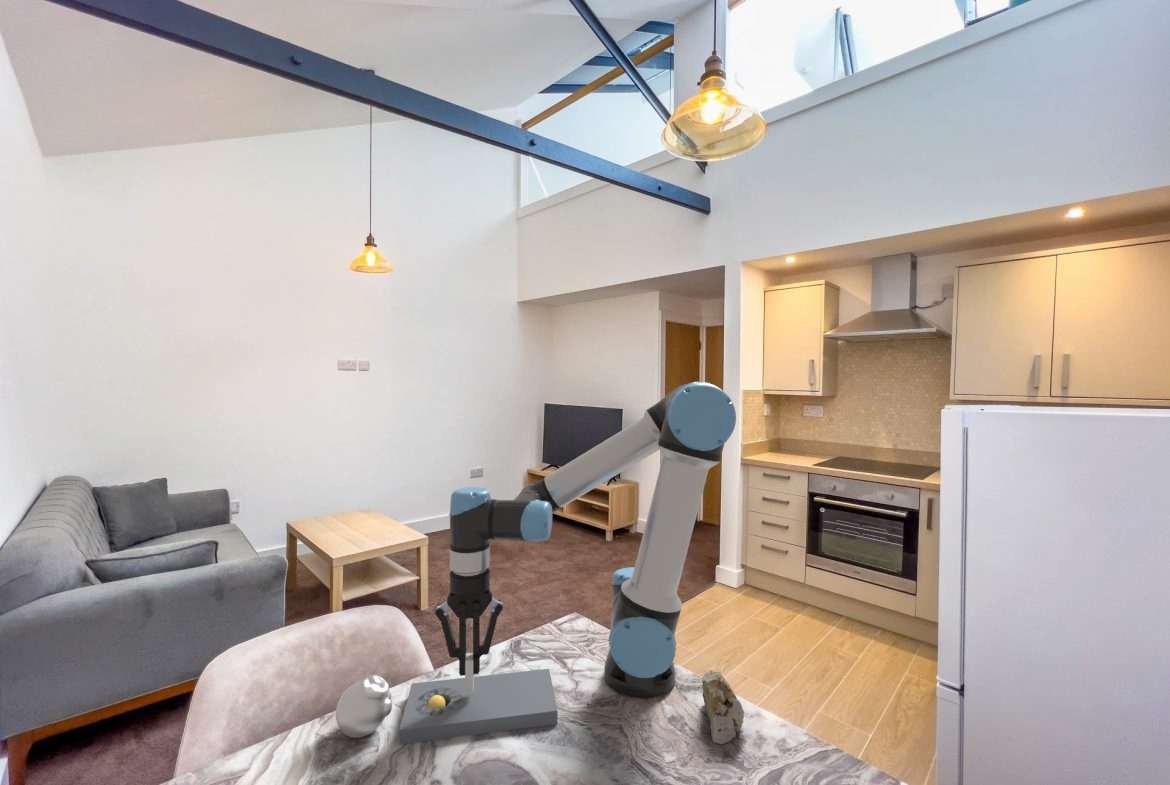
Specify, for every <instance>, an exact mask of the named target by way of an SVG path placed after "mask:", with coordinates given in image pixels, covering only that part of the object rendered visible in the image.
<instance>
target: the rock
mask: <svg viewBox="0 0 1170 785" xmlns="http://www.w3.org/2000/svg"><path fill="white" fill-rule="evenodd" d="M702 698H703V703H704V705H705V707H704V708H705V711H706V715H707V716H708V718H709V720H710V724H709V725H710V726H709V729H710V731H711V732H710V733H711V739H712V742H713V743H716V744H719V745H723V744H726V743H729V742H731V741H733V738H736V735H737V734H736V733H738V732H739V730H740V729H741V728H742V727H743V723H745V722H744V717H745V712H744V709H743V705H742V704H741V701H740V700H739V699H738V697H737V696H736V694H735V692H734V690H733V689H732V687H731V686H730V684H729V682H728V681H727V680H726V679H725V677H724V676H723V675H722V672H721V671H716V670H715V671H714V670H711V669H710V670H709V671H708V672H705V673H703V676H702Z"/></svg>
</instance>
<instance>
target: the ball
mask: <svg viewBox="0 0 1170 785" xmlns="http://www.w3.org/2000/svg"><path fill="white" fill-rule="evenodd" d="M427 706H428V707H429V708H431V709H440V708H443V707H445V700H444V698H443V697H442V696H440V695H435V696H433V697H431V698H430V699H429V701H428V703H427Z"/></svg>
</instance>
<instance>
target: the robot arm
mask: <svg viewBox="0 0 1170 785" xmlns="http://www.w3.org/2000/svg"><path fill="white" fill-rule="evenodd" d="M736 422H737V412H736V407H735V405H734V402H733V401H732V399H731V398H730V396H729V395H728V394H727V393H726V392H725V391H724V390H723V389H721V388H720V387H718V386H717V385H715V384H711V383H709V382H702V381H693V382H688V383H683V384H681V385H678V386H677V387H675V388H674V389H672V390H671V391H670V392H669V393H668V394H666V396H664V397H663V398H662V399H660V400H659V401H658V402H657V403H655V404H653V405H652V406H651V407H649V408H647V409H646V410H644V413H643V416H642V418H640V419H639V420H636V421H635V422H633V423H632V424H630V425H628V426H627V427H625V428H624V429H622V430H620V431H619V432H617V433H615V434H614V435H612V436H611V437H609V438H607V439H605V440H604V441H603V442H601V443H599V444H598V445H597V444H596V445H595V446H593V447H592V448H591V449H589V450H587V451H585V453H582V454H581V455H579V456H578V457H576V458H574V459H572V460H571V461H569V462H567V463H566V464H565V465H562V466H560V467H559V468H557V469H556V470H554V471H553V472H551V473H549V474H548V475H546V476H545V477H543V478H541V479H540V480H537V482H534V483H532V484H529V485H527V486H526V487H525V488H523V489H522V490H521V491H520V493H519V494H518V495H516V497H515V498H514V499H495V498H493V499H492V497H491V492H490V490H489V489H488V488H486V487H480V486H468V487H461V488H458V489H456V490H454V491H453V492H452V493H451V495H450V507H449V514H448V516H449V541H450V542H449V543H450V544H449V570H451V571H450V572H449V593H448V596H447V599H446V601H444V602H442V603H439V604H437V605H436V609H435V612H434V613H435V616H436V617H437V618H438V620H439V621H440V623H441V624H440V625H441V627H442V631H443V632H442V633H443V634H444V640H445V643H446V644H445V645H446V647H447V651H448V654H449V655H448V656H449V658H452V659H454V658H456V659H458V661H459V666H458V670H459V671H458V673H459V676H465V677H464V678H465V695H467V694H473V689H474V677H475V676H474V675H479V673H480V667H481V665H480V662H481V661H480V659H481V657H482V656H484V655H485V656H487V655H488V654H489V653H490V650H491V644H492V641H493V637H494V633H495V628H496V625H497V621H498V618H499V616H500V615H501V613H502V611H503V610H504V605H503V604H504V603H503V602H504V601H503V600H502V599H498V600H497V599H495V598H494V597H493V594H492V592H491V589H490V588H491V587H490V584H491V583H490V581H491V580H490V579H491V576H490V575H491V574H490V573H491V572H490V562H491V561H490V560H491V557H490V556H491V554H490V552H491V551H490V550H491V544H490V543H491V540H492V541H516V542H518V541H519V542H528V543H533V542H545V541H547V540H548V539H549V538H550V537H551V534H552V529H553V514H554V513H556V512H558V511H559V510H561V509H562V508H563V507H565V506H567V505H569V504H570V503H572V502H574V501H575V500H577V499H579V498H580V497H583V495H586V494H587V493H589V492H590V491H592V490H594V489H596V488H597V487H599V486H600V485H602V484H603V483H606V482H607V481H609V480H610V479H612V478H613V477H615V476H618V475H619V474H621V473H622V472H624V471H626V470H628V469H629V468H631V467H633V466H634V465H636V464H637V463H639V462H641V461H642V460H644V459H645V458H648V457H649V456H651V455H653V454H654V453H656V452H658V451H660V453H661V455H662V460H661V463H660V467H659V471H658V474H657V475H658V476H657V480H656V482H655V486H654V489H653V490H654V491H653V494H652V499H651V503H650V506H649V511H648V514H647V518H646V522H645V525H644V530H643V534H642V537H641V541H640V544H639V549H638V553H637V557H636V560H635V564H634V566H632V567H631V566H630V567H623V568H620V569H617V570H615V571H614V573H612V581H611V582H610V583H611V587H612V589H611V590H612V593H611V594H612V596H611V599H612V600H611V602H612V603H611V614H610V617H611V618H610V632H609V635H608V636H609V637H608V642H609V643H608V644H609V650H608V653H607V656H606V659H605V662H604V668H603V669H604V675H603V676H604V681H605V683H606V684H607V686H608V687H609V688H610V689H611V690H613V691H614V692H616V693H618V694H619V695H622V696H624V697H627V698H632V699H641V700H645V699H646V700H647V699H655V698H658V697H661V696H663V695H666V694H667V693H669V692H670V691H671V690H673V688H674V686H675V684H676V668H675V665H674V660H675V656H676V651H677V641H676V637H675V636H676V630H677V626H678V623H679V618H680V615H681V611H682V606H683V602H682V600H681V598H680V597H679V595H678V588H679V585H680V581H681V577H682V573H683V570H684V565H685V562H686V559H687V555H688V550H689V546H690V542H691V539H692V534H693V531H694V528H695V523H696V520H697V516H698V512H699V507H700V504H701V500H702V496H703V492H704V489H705V485H706V482H707V476H708V474H709V470H710V469H712V468H713V467H714V466H717V465H718V464H720V462H721V457H722V455H723V450H724V447H725V443H727V441H728V440H729V439H730V438H731V436H732V434H733V432H734V431H735V427H736ZM488 607H490V608H489V609H490V614H489V618H488V624H487V627H486V632H485V636H484V639H483V644H481V632H480V631H481V616H482V615H483V614H484V612H485V611H486V610H487V608H488ZM450 609H451V611H452V612H453V613H454V614H455V615H456V617H457V618H458V619H459V620H458V621H459V622H458V625H459V626H458V629H459V630H458V631H459V634H458V636H459V639H458V641H459V642H458V643H459V644H458V647H457V643H456V639H455V635H454V634H455V633H454V632H453V626H452V623H451V619H450V616H449V613H450ZM468 619H472V652H467V620H468Z"/></svg>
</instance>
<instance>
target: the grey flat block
mask: <svg viewBox="0 0 1170 785" xmlns="http://www.w3.org/2000/svg"><path fill="white" fill-rule="evenodd" d="M551 677H552V676H551V671H550V668H544V669H533V670H524V671H515V672H505V673H498V674H497V673H496V674H495V673H494V674H489V675H487V674H486V675H477V676H474V689H473V694H467V695H465V677H459V678H451V679H449V678H448V679H441V680H440V679H439V680H431V681H422V682H414V683H411V685H410V689H409V692H408V697H407V701H406V703H405V704H406V705H405V707H404V711H403V715H402V719H401V722H400V725H399V732H398V740H399V741H398V742H399V745H404V744H413V743H420V742H427V741H436V740H443V739H451V738H457V737H458V738H460V737H466V736H475V735H476V736H477V735H481V734H489V733H490V734H491V733H497V732H499V733H500V732H505V731H513V730H514V731H515V730H521V729H529V728H537V727H543V726H551V725H552V726H553V725H558V722H559V721H558V720H559V719H558V706H557V701H556V697H555V693H554V692H555V691H554V686H553V681H552V678H551ZM435 695H440V696H442V697H443V698H444V700H445V707H443V708H440V709H431V708H429V707H428V706H427V703H428V701H429V699H430V698H431V697H433V696H435Z"/></svg>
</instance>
